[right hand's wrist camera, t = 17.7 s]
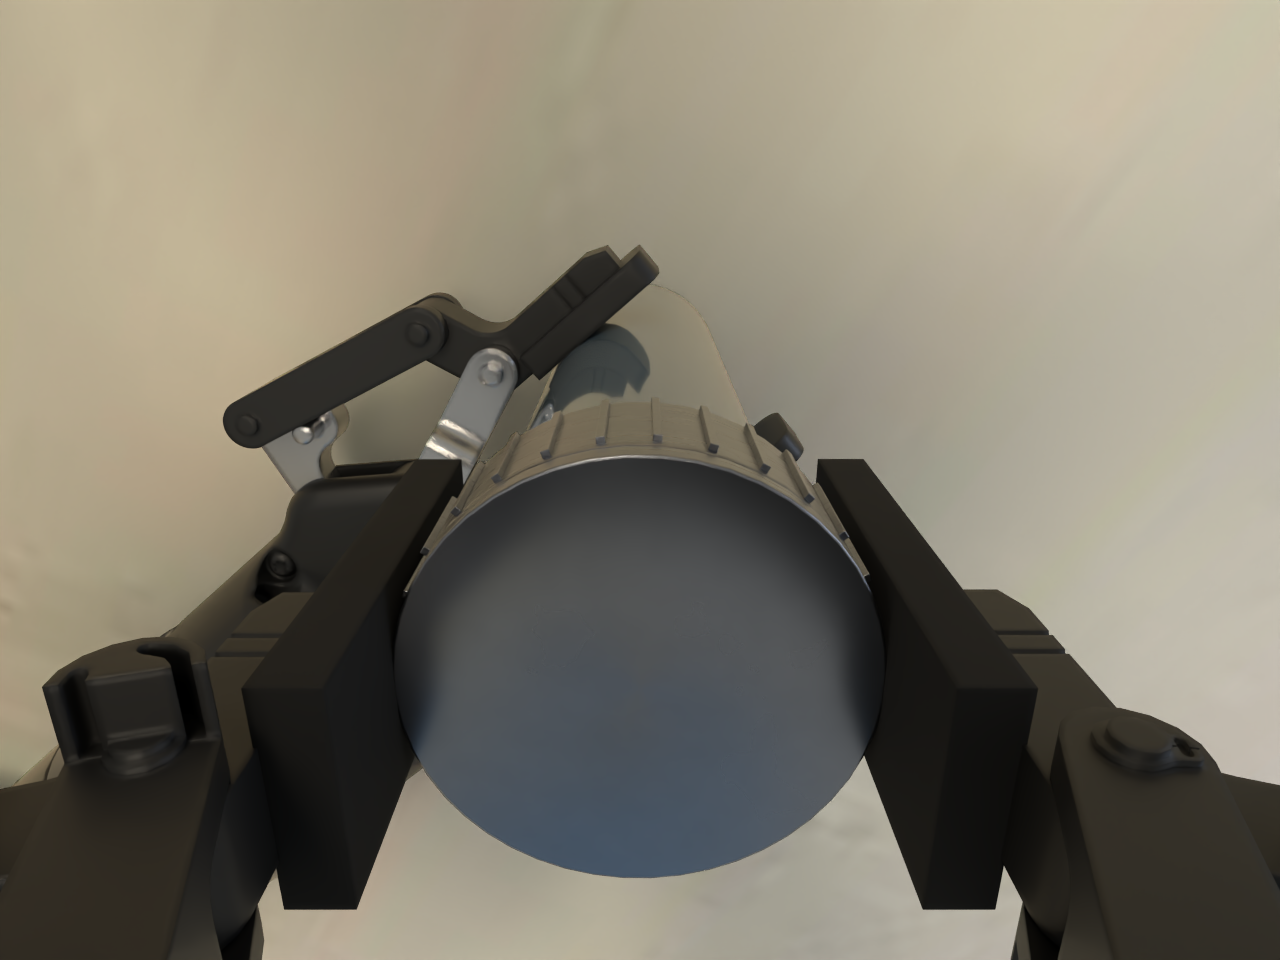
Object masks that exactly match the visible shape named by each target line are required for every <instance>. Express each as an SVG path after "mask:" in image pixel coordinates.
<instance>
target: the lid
mask: <svg viewBox="0 0 1280 960" xmlns="http://www.w3.org/2000/svg"><path fill="white" fill-rule="evenodd" d="M420 553H421V554H423V557H422V559H421V561H420V562H419V564H418V566H417V568H416V570H415V571H414V573H413V575H412V577H411V578H410V580H409V582H408V584H407V586H406V587H405V589H404V591H403V595H402V598H405V600H404V602H403V605H402V608H401V611H400V613H399V617H398V622H397V627H396V632H395V636H394V641H393V672H394V680H395V689H396V697H397V705H398V712H399V716H400V720H401V724H402V727H403V729H404V732H405V734H406V736H407V739H408V741H409V743H410V746H411V748H412V750H413V752H414V754H415V756H416V757H417V759H418V761H419V762H420V764H421V766H422V767H423V769H424V771H425V772H426V774H427V775H428V777H429V778H430V779H431V780H432V782H433V783H434V784H435V786H436V787H437V788H438V789H439V791H440V792H441V793H442V794H443V796H444V797H445V798H446V799H447V800H448V801H449V802H450V803H451V804H453V805H454V806H455V807H456V808H457V809H458V810H459V811H460V812H461V813H462V814H463V815H464V816H465V817H466V818H468V819H469V820H470V821H472V822H473V823H474V824H476V825H477V826H478V827H479V828H481V829H482V830H483V831H485V832H486V833H488V834H489V835H491V836H493V837H494V838H496V839H498V840H499V841H501V842H503V843H504V844H506V845H508V846H510V847H511V848H513V849H516V850H518V851H520V852H522V853H524V854H527V855H529V856H531V857H533V858H536V859H538V860H541V861H544V862H547V863H550V864H553V865H556V866H559V867H562V868H566V869H570V870H575V871H579V872H584V873H589V874H593V875H602V876H611V877H620V878H657V877H667V876H678V875H685V874H690V873H695V872H700V871H705V870H710V869H713V868H716V867H719V866H723V865H726V864H729V863H732V862H736V861H738V860H741V859H743V858H745V857H748V856H750V855H752V854H755V853H757V852H759V851H762V850H764V849H766V848H767V847H769V846H771V845H773V844H774V843H776V842H778V841H780V840H782V839H783V838H785V837H787V836H789V835H790V834H791V833H793V832H794V831H795V830H797V829H798V828H800V827H801V826H802V825H804V824H805V823H806V822H808V821H809V820H811V819H812V818H813V817H814V816H815V815H816V814H817V813H818V812H819V811H820V810H821V809H822V808H824V807H825V806H826V805H827V804H828V803H829V802H830V801H831V800H832V799H833V798H834V796H835V795H836V794H837V793H838V792H839V790H840V789H841V788H842V787H843V786H844V784H845V783H846V782H847V781H848V780H849V778H850V777H851V775H852V774H853V772H854V770H855V769H856V767H857V766H858V764H859V763H860V761H861V759H862V758H863V756H864V754H865V752H866V750H867V748H868V746H869V743H870V741H871V739H872V737H873V735H874V732H875V730H876V726H877V723H878V719H879V716H880V713H881V708H882V700H883V692H884V684H885V675H886V659H887V656H886V643H885V637H884V632H883V626H882V620H881V617H880V614H879V611H878V608H877V605H876V602H875V599H874V596H873V594H872V591H871V589H870V587H869V585H868V582H870V581H872V579H871V577H870V574H869V572H868V571H867V569H866V567H865V565H864V564H863V562H862V560H861V558H860V556H859V555H858V553H857V551H856V549H855V548H854V546H853V544H852V542H851V541H850V539H849V535H848V534H847V532H846V530H845V528H844V527H843V525H842V523H841V521H840V520H839V518H838V516H837V514H836V513H835V511H834V509H833V507H832V505H831V504H830V502H829V500H828V498H827V497H826V495H825V493H824V491H823V490H822V488H821V486H820V485H819V484H818V483H816V484H814V485H813V486H812V484H811V483H810V482H809V480H808V479H807V477H806V476H805V475H804V474H803V473H802V472H801V471H800V469H799V467H798V465H797V463H796V461H795V459H794V458H793V456H792V454H791V453H790V452H789V451H788V450H787V449H786V450H785V451H784V452H783V453H782V452H781V451H779V450H778V449H777V448H775V447H774V446H773V445H772V444H770V443H769V442H768V441H766V440H765V439H764V438H762V437H760V436H759V435H757V434H756V432H755V429H754V427H753V426H752V425H750V424H748V423H746V424H745V426H744V427H743V426H741V425H739V424H737V423H735V422H732V421H730V420H727V419H725V418H723V417H720V416H718V415H716V414H713V413H710V412H709V408H708V407H706V406H703V405H701V406H700V409H699V410H698V409H694V408H691V407H687V406H681V405H674V404H667V403H660V399H659V398H656V397H652V398H651V402H621V403H613V404H610V400H609V399H605V400H601V405H597V406H593V407H589V408H585V409H581V410H577V411H573V412H569V413H567V414H564V415H563V414H562V412H561V411H558V412H555V413H554V414H553V416H552V419H551V420H549V421H546V422H544V423H542V424H540V425H538V426H536V427H535V428H533V429H531V430H529V431H527V432H526V433H524V434H522V435H519V433H518V432H515V433H514V434H512V435H511V436H510V438H509V441H508V443H507V445H506V446H505V447H504V448H502V449H501V450H500V451H498V452H497V453H496V454H495V455H494V456H493V457H492V458H491V459H490V460H489V461H488V462H487V463H486V464H484V463H482V462H481V461H479V462H478V464H477V465H476V466H475V468H474V469H473V471H472V473H471V475H470V477H469V478H468V480H467V482H466V484H465V486H464V487H463V489H462V491H461V493H460V495H459V497H458V498H455V497H453V496H452V498H451V499H450V501H449V503H448V504H447V506H446V508H445V510H444V511H443V513H442V515H441V517H440V518H439V520H438V522H437V524H436V525H435V527H434V529H433V531H432V532H431V534H430V536H429V538H428V539H427V541H426V543H425V545H424V546H423V548H422V550H421V552H420Z"/></svg>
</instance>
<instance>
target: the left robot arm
mask: <svg viewBox="0 0 1280 960" xmlns="http://www.w3.org/2000/svg"><path fill="white" fill-rule="evenodd" d="M658 274H659V269H658V266H657V265H656V264H655V262H654V261H653V260H652V259H651V258H650V256H649V255H648V254H647V253H646V252H645V250H644V249H643V248H642V247H641V246H640V245H638V246H637V247H636V248H634V249H633V250H632V251H631V252H630V253H628V254H627V255H626V256H625V257H624V258H623V259H622V260H620V259H619V258H618V257H617V255H616V254H615V253H614V252H613V251H612V250H611V248H610V247H609V246H608V245H607V246H604V247H601V248H598V249H595V250H593V251H590V252H587V253H586V254H585V255H584V256H583V257H581V258H580V259H579V260H578V261H577V262H576V263H575V264H574V265H573V266H571V267H570V268H569V269H568V270H567V271H566V272H565V273H564V274H563V275H562V276H560V277H559V278H558V279H557V280H556V281H555V282H554V283H553V284H552V285H550V286H549V287H548V288H547V289H546V290H545V291H544V292H543V293H542V294H541V295H539V296H538V297H537V298H536V299H535V300H534V301H533V302H532V303H531V304H529V305H528V306H527V307H526V308H525V309H524V310H523V311H522V312H521V313H520V314H518V315H517V316H516V317H515V318H513V319H511V320H509V321H506V322H501V323H494V322H489V321H485V320H483V319H481V318H479V317H477V316H476V315H474V314H472V313H470V312H468V311H466V310H465V309H463V308H462V306H461V304H460V303H459V302H458V301H457V300H456V299H455V298H454V297H453V296H451V295H449V294H446V293H433V294H431V295H428V296H427V297H425V298H423V299H421V300H419V301H417V302H415V303H414V304H412V305H410V306H408V307H406V308H404V309H403V310H401V311H399V312H397V313H395V314H393V315H391V316H390V317H388V318H386V319H384V320H382V321H380V322H379V323H377V324H375V325H373V326H371V327H369V328H367V329H366V330H364V331H362V332H360V333H358V334H356V335H355V336H353V337H351V338H349V339H347V340H345V341H343V342H342V343H340V344H338V345H336V346H334V347H332V348H331V349H329V350H327V351H325V352H323V353H321V354H319V355H318V356H316V357H314V358H312V359H310V360H308V361H307V362H305V363H303V364H301V365H299V366H297V367H295V368H294V369H292V370H290V371H288V372H286V373H284V374H283V375H281V376H279V377H277V378H275V379H273V380H272V381H270V382H268V383H267V384H265V385H263V386H261V387H260V388H258V389H256V390H254V391H253V392H251V393H249V394H247V395H246V396H244V397H242V398H241V399H239V400H237V401H235V402H234V403H232V404H231V405H230V406H229V407H228V408H227V409H226V411H225V413H224V416H223V425H224V428H225V431H226V433H227V434H228V436H229V437H230V438H231V439H232V440H233V441H234V442H235V443H237V444H238V445H240V446H243V447H246V448H259V447H262V448H263V449H264V451H265V452H266V454H267V455H268V456H269V458H270V459H271V461H272V462H273V464H274V465H275V466H276V468H277V469H278V471H279V472H280V474H281V475H282V476H283V478H284V479H285V481H286V482H287V484H288V485H289V486H290V488H291V489H292V491H293V492H294V493H295V495H294V496H293V498H292V499H291V501H290V503H289V506H288V509H287V513H286V518H285V522H284V525H283V527H282V529H281V531H280V533H279V534H278V535H277V536H276V537H275V538H274V539H272V540H271V541H270V542H269V543H268V544H267V545H266V546H265V547H264V548H262V549H261V550H260V551H259V552H258V553H257V554H256V555H255V556H254V557H253V558H251V559H250V560H249V561H248V562H247V563H246V564H245V565H244V566H243V567H241V568H240V569H239V570H238V571H237V572H236V573H235V574H234V575H233V576H231V577H230V578H229V579H228V580H227V581H226V582H225V583H224V584H223V585H221V586H220V587H219V588H218V589H217V590H216V591H215V592H214V593H213V594H211V595H210V596H209V597H208V598H207V599H206V600H205V601H204V602H203V603H202V604H200V605H199V606H198V607H197V608H196V609H195V610H194V611H193V612H192V613H190V614H189V615H188V616H187V617H186V618H185V619H184V620H183V621H182V622H181V623H180V624H179V625H177V626H176V627H174V628H173V629H171V630H169V631H168V632H166V633H165V634H163V635H162V636H160V637H175V638H181V639H186V640H192V641H193V642H195V643H196V644H197V645H199V646H200V647H202V648H203V649H204V650H205V655H206V660H207V661H208V660H209V659H210V658H211V657H215V652H216V651H217V649H218V648H219V647H220V646H221V645H222V644H223V643H224V641H225V640H226V639H227V638H231V633H232V632H233V631H234V630H235V629H236V628H237V627H238V625H239V624H240V623H241V622H242V621H243V620H244V619H245V617H246V616H247V615H248V614H249V613H250V612H251V611H252V610H254V609H256V608H257V607H259V606H261V605H262V604H264V603H266V602H267V601H269V600H271V599H273V598H274V597H276V596H278V595H279V594H281V593H283V592H315V591H316V590H317V588H318V587H319V586H320V584H321V583H322V582H323V580H324V579H325V578H326V576H327V575H328V574H329V573H330V571H331V570H332V569H333V567H334V566H335V565H336V563H337V562H338V561H339V559H340V558H341V557H342V555H343V554H344V553H345V552H346V550H347V549H348V548H349V546H350V545H351V544H352V542H353V541H354V540H355V538H356V537H357V536H358V535H359V533H360V532H361V531H362V529H363V528H364V527H365V525H366V524H367V523H368V521H369V520H370V519H371V518H372V516H373V515H374V514H375V512H376V511H377V510H378V508H379V507H380V506H381V504H382V503H383V502H384V501H385V499H386V498H387V497H388V495H389V494H390V493H391V491H392V490H393V489H394V487H395V486H396V485H397V483H398V482H399V481H400V480H401V478H402V477H403V476H404V474H405V473H406V472H407V470H408V469H409V468H410V466H411V465H412V464H413V463H414V461H415V460H416V459H409V460H396V461H383V462H371V463H358V464H345V465H336V466H335V464H334V462H333V460H332V456H331V448H332V445H333V443H334V441H335V440H336V439H337V438H338V437H340V436H341V435H342V434H343V433H344V432H345V431H346V429H347V427H348V425H349V413H348V410H347V408H346V406H345V405H344V403H346V402H348V401H350V400H351V399H353V398H355V397H357V396H359V395H361V394H363V393H365V392H367V391H368V390H370V389H372V388H374V387H376V386H378V385H380V384H382V383H384V382H386V381H387V380H389V379H391V378H393V377H395V376H397V375H399V374H401V373H403V372H404V371H406V370H408V369H410V368H412V367H414V366H416V365H418V364H420V363H422V362H423V361H425V360H426V361H428V362H430V363H432V364H434V365H436V366H438V367H440V368H442V369H444V370H445V371H447V372H449V373H451V374H453V375H455V376H457V377H459V378H460V380H459V382H458V384H457V386H456V388H455V390H454V392H453V394H452V396H451V398H450V400H449V402H448V404H447V406H446V408H445V410H444V412H443V414H442V416H441V418H440V420H439V422H438V424H437V426H436V427H435V429H434V431H433V432H432V434H431V436H430V438H429V440H428V441H427V443H426V445H425V447H424V449H423V451H422V453H421V455H420V457H419V459H462V472H463V484H464V486H465V484H466V482H467V480H468V478H469V477H470V475H471V473H472V471H473V469H474V468H475V465H476V463H477V461H478V459H479V457H480V455H481V454H482V452H483V450H484V448H485V446H486V444H487V442H488V440H489V438H490V436H491V434H492V432H493V430H494V428H495V427H496V425H497V423H498V421H499V419H500V417H501V415H502V413H503V411H504V409H505V407H506V405H507V403H508V401H509V399H510V397H511V395H512V393H513V391H514V390H515V389H516V388H517V387H518V386H519V385H520V384H522V383H523V382H524V381H525V380H526V379H527V378H528V377H529V376H531V375H532V374H534V375H535V376H536V377H537V378H538V379H539V380H540V379H541V378H543V377H544V376H545V375H546V374H547V373H548V372H549V371H551V370H552V369H553V368H554V367H555V366H556V365H557V364H559V363H560V362H561V361H562V360H563V359H564V358H565V357H566V356H567V355H568V354H569V353H571V352H572V351H573V350H574V349H575V348H577V347H578V346H579V345H580V344H582V343H583V342H584V341H585V340H586V339H587V338H588V337H590V336H591V335H592V334H593V333H594V332H595V331H596V330H598V329H599V328H600V327H601V326H602V325H603V324H604V323H606V322H607V321H608V320H609V319H610V318H611V317H612V316H614V315H615V314H616V313H617V312H618V311H619V310H620V309H622V308H623V307H624V306H625V305H626V304H627V303H628V302H630V301H631V300H632V299H633V298H634V297H635V296H636V295H638V294H639V293H640V292H641V291H642V290H643V289H644V288H646V287H647V286H648V285H649V284H650V283H651V282H652V281H653V280H654V279H655V278H656V277H657V275H658ZM754 429H755V432H756V434H757V435H759V436H760V437H762V438H764V439H765V440H766V441H768V442H769V443H770V444H772V445H773V446H774V447H775V448H777V449H778V450H779V451H781V452H782V453H783V452H784V451H785V450H786V449H787V450H788V451H789V452H790V453H791V454H792V456H793V458H794V459H795V461H797V460H798V459H799V458H800V456H801V455H802V453H803V450H804V448H803V446H802V444H801V443H800V441H799V439H798V437H797V436H796V434H795V433H794V431H793V430H792V429H791V428H790V426H789V425H788V424H787V423H786V422H785V420H784V419H783V418H782V417H781V416H780V414H779V413H773V414H771V415H769V416H767V417H765V418H764V419H763V420H761V421H760V422H759V423H757V424H756V425H755V426H754ZM482 463H483V462H482ZM63 765H64V760H63V757H62V754H61V750H60V747H59V744H58V745H57V746H56V747H55V748H54V749H52V750H51V751H50V752H49V753H48V754H47V755H46V756H45V757H44V758H42V759H41V760H40V761H39V762H38V763H37V764H36V765H35V766H33V767H32V768H31V769H30V770H29V771H28V772H27V773H26V774H25V775H24V776H23V777H21V778H20V779H19V780H18V781H17V782H16V783H15V784H14V785H12V786H11V787H13V786H18V785H23V784H28V783H33V782H38V781H43V780H48V779H51V778H55V777H58V775H59V773H60V771H61V769H62V767H63ZM422 768H423V767H422V766H421V764H420V762H419V761H418V759H417V757H416V756H415V757H414V760H413V763H412V765H411V768H410V770H409V773H408V776H407V778H406V780H408V779H409V778H410V777H411V776H413V775H414V774H415V773H417V772H418V771H419V770H421V769H422ZM277 877H278V875H277V870H275V872H274V873H273V875H272V877H271V879H270V881H272V880H274V879H275V878H277ZM270 881H269V882H270Z"/></svg>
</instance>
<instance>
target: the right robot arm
mask: <svg viewBox="0 0 1280 960" xmlns="http://www.w3.org/2000/svg"><path fill="white" fill-rule="evenodd" d="M816 483H818V484H819V485H820V486H821V488H822V490H823V491H824V493H825V495H826V497H827V498H828V500H829V502H830V504H831V505H832V507H833V509H834V511H835V513H836V514H837V516H838V518H839V520H840V521H841V523H842V525H843V527H844V528H845V530H846V532H847V534H848V535H849V539H850V541H851V542H852V544H853V546H854V548H855V549H856V551H857V553H858V555H859V556H860V558H861V560H862V562H863V564H864V565H865V567H866V569H867V571H868V572H869V574H870V577H871V579H872V581H870V582H868V585H869V587H870V589H871V591H872V594H873V596H874V599H875V602H876V605H877V608H878V611H879V614H880V617H881V620H882V626H883V632H884V637H885V643H886V656H887V659H886V675H885V684H884V692H883V700H882V708H881V713H880V716H879V719H878V723H877V726H876V730H875V732H874V735H873V737H872V739H871V741H870V743H869V746H868V748H867V750H866V752H865V754H864V756H865V759H866V761H867V764H868V767H869V769H870V772H871V774H872V777H873V780H874V782H875V785H876V788H877V790H878V793H879V795H880V798H881V801H882V803H883V806H884V809H885V811H886V814H887V816H888V819H889V822H890V824H891V827H892V830H893V832H894V835H895V837H896V840H897V843H898V845H899V848H900V851H901V853H902V856H903V858H904V861H905V864H906V866H907V869H908V872H909V874H910V877H911V880H912V882H913V885H914V887H915V890H916V893H917V895H918V898H919V901H920V903H921V906H922V908H923V910H995V908H996V903H997V898H998V893H999V888H1000V882H1001V877H1002V872H1003V867H1004V866H1005V868H1006V870H1007V872H1008V874H1009V876H1010V878H1011V880H1012V882H1013V884H1014V886H1015V888H1016V889H1017V891H1018V893H1019V895H1020V897H1021V899H1022V901H1023V903H1022V908H1021V913H1020V918H1019V922H1018V927H1017V932H1016V937H1015V942H1014V946H1013V951H1012V956H1011V960H1280V785H1276V784H1271V783H1266V782H1261V781H1256V780H1251V779H1246V778H1241V777H1236V776H1232V775H1228V774H1224V773H1221V772H1220V770H1219V768H1218V766H1217V764H1216V762H1215V761H1214V759H1213V758H1212V757H1211V756H1210V754H1209V753H1208V752H1207V751H1206V749H1205V748H1204V747H1203V746H1202V745H1201V744H1200V743H1199V742H1197V741H1196V740H1194V739H1193V738H1191V737H1190V736H1189V735H1187V734H1186V733H1184V732H1183V731H1181V730H1180V729H1179V728H1177V727H1174V726H1172V725H1170V724H1168V723H1165V722H1163V721H1161V720H1159V719H1156V718H1154V717H1152V716H1150V715H1146V714H1142V713H1138V712H1134V711H1130V710H1126V709H1122V708H1116V707H1115V705H1114V704H1113V703H1112V702H1111V701H1110V700H1109V699H1108V698H1107V696H1106V695H1105V694H1104V693H1103V692H1102V691H1101V690H1100V688H1099V687H1098V686H1097V685H1096V684H1095V683H1094V682H1093V680H1092V679H1091V678H1090V677H1089V676H1088V675H1087V674H1086V673H1085V671H1084V670H1083V669H1082V668H1081V667H1080V666H1079V665H1078V663H1077V662H1076V661H1075V660H1074V659H1073V658H1072V657H1071V655H1070V654H1065V649H1064V648H1063V646H1062V645H1061V644H1060V643H1059V642H1058V641H1057V640H1056V638H1055V637H1054V636H1053V635H1049V631H1048V629H1047V628H1046V627H1045V626H1044V625H1043V624H1042V623H1041V621H1040V620H1039V619H1038V618H1037V617H1036V616H1035V615H1034V613H1033V612H1032V611H1031V610H1030V609H1029V608H1027V607H1026V606H1024V605H1022V604H1021V603H1019V602H1017V601H1016V600H1014V599H1012V598H1010V597H1009V596H1007V595H1005V594H1004V593H1002V592H1000V591H999V590H963V589H962V588H961V586H960V585H959V584H958V582H957V581H956V580H955V578H954V577H953V576H952V575H951V573H950V572H949V571H948V569H947V568H946V567H945V565H944V564H943V563H942V561H941V560H940V559H939V558H938V556H937V555H936V554H935V552H934V551H933V550H932V548H931V547H930V546H929V544H928V543H927V542H926V541H925V539H924V538H923V537H922V535H921V534H920V533H919V531H918V530H917V529H916V527H915V526H914V525H913V523H912V522H911V521H910V520H909V518H908V517H907V516H906V514H905V513H904V512H903V510H902V509H901V508H900V506H899V505H898V504H897V503H896V501H895V500H894V499H893V497H892V496H891V495H890V493H889V492H888V491H887V489H886V488H885V487H884V486H883V484H882V483H881V482H880V480H879V479H878V478H877V476H876V475H875V474H874V472H873V471H872V470H871V468H870V467H869V466H868V465H867V463H866V462H865V461H864V459H818V465H817V477H816ZM463 487H464V484H463V472H462V459H416V460H415V461H414V463H413V464H412V465H411V466H410V468H409V469H408V470H407V472H406V473H405V474H404V476H403V477H402V478H401V480H400V481H399V482H398V483H397V485H396V486H395V487H394V489H393V490H392V491H391V493H390V494H389V495H388V497H387V498H386V499H385V501H384V502H383V503H382V504H381V506H380V507H379V508H378V510H377V511H376V512H375V514H374V515H373V516H372V518H371V519H370V520H369V521H368V523H367V524H366V525H365V527H364V528H363V529H362V531H361V532H360V533H359V535H358V536H357V537H356V538H355V540H354V541H353V542H352V544H351V545H350V546H349V548H348V549H347V550H346V552H345V553H344V554H343V555H342V557H341V558H340V559H339V561H338V562H337V563H336V565H335V566H334V567H333V569H332V570H331V571H330V573H329V574H328V575H327V576H326V578H325V579H324V580H323V582H322V583H321V584H320V586H319V587H318V588H317V590H316V591H315V592H283V593H281V594H279V595H278V596H276V597H274V598H273V599H271V600H269V601H267V602H266V603H264V604H262V605H261V606H259V607H257V608H256V609H254V610H252V611H251V612H250V613H249V614H248V615H247V616H246V617H245V619H244V620H243V621H242V622H241V623H240V624H239V625H238V627H237V628H236V629H235V630H234V631H233V632H232V633H231V638H227V639H226V640H225V641H224V643H223V644H222V645H221V646H220V647H219V648H218V649H217V651H216V652H215V657H211V658H210V659H209V660H208V661H207V660H206V655H205V650H204V649H203V648H202V647H200V646H199V645H197V644H196V643H195V642H193V641H192V640H186V639H181V638H175V637H153V638H141V639H136V640H132V641H127V642H123V643H118V644H113V645H110V646H108V647H105V648H102V649H100V650H97V651H95V652H92V653H89V654H87V655H84V656H82V657H80V658H79V659H77V660H75V661H73V662H72V663H70V664H68V665H67V666H65V667H63V668H62V669H60V670H58V671H57V672H56V673H55V674H54V675H53V676H52V677H51V678H50V679H49V680H48V681H47V682H46V684H45V685H44V686H43V687H42V689H43V692H44V696H45V699H46V702H47V706H48V709H49V713H50V716H51V719H52V723H53V726H54V730H55V733H56V737H57V740H58V743H59V747H60V750H61V754H62V757H63V760H64V765H63V767H62V769H61V771H60V773H59V775H58V777H55V778H51V779H48V780H43V781H38V782H33V783H28V784H23V785H18V786H13V787H8V788H4V789H0V960H262V953H263V945H264V936H263V929H262V922H261V918H260V913H259V908H258V902H259V901H260V899H261V897H262V895H263V893H264V891H265V889H266V887H267V885H268V883H269V881H270V879H271V877H272V875H273V873H274V872H275V870H277V875H278V880H279V885H280V890H281V896H282V901H283V906H284V910H357V907H358V904H359V902H360V899H361V896H362V894H363V891H364V889H365V886H366V883H367V881H368V878H369V875H370V873H371V870H372V868H373V865H374V862H375V860H376V857H377V854H378V852H379V849H380V847H381V844H382V841H383V839H384V836H385V833H386V831H387V828H388V826H389V823H390V820H391V818H392V815H393V812H394V810H395V807H396V805H397V802H398V799H399V797H400V794H401V791H402V789H403V786H404V784H405V781H406V778H407V776H408V773H409V770H410V768H411V765H412V763H413V760H414V757H415V754H414V752H413V750H412V748H411V746H410V743H409V741H408V739H407V736H406V734H405V732H404V729H403V727H402V724H401V720H400V716H399V712H398V705H397V697H396V689H395V680H394V672H393V641H394V636H395V632H396V627H397V622H398V617H399V613H400V611H401V608H402V605H403V602H404V600H405V598H402V595H403V591H404V589H405V587H406V586H407V584H408V582H409V580H410V578H411V577H412V575H413V573H414V571H415V570H416V568H417V566H418V564H419V562H420V561H421V559H422V557H423V554H421V553H420V552H421V550H422V548H423V546H424V545H425V543H426V541H427V539H428V538H429V536H430V534H431V532H432V531H433V529H434V527H435V525H436V524H437V522H438V520H439V518H440V517H441V515H442V513H443V511H444V510H445V508H446V506H447V504H448V503H449V501H450V499H451V498H452V496H453V497H455V498H458V497H459V495H460V493H461V491H462V489H463Z"/></svg>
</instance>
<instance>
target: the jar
mask: <svg viewBox="0 0 1280 960" xmlns="http://www.w3.org/2000/svg"><path fill="white" fill-rule="evenodd" d="M652 397H656V398H659V399H660V403H667V404H674V405H681V406H687V407H691V408H694V409H698V410H699V409H700V406H701V405H703V406H706V407H708V408H709V412H710V413H713V414H716V415H718V416H720V417H723V418H725V419H727V420H730V421H732V422H735V423H737V424H739V425H741V426H743V427H744V426H745V424H746V423H748V424H749V422H748V420H747V418H746V415H745V413H744V411H743V408H742V406H741V404H740V401H739V399H738V397H737V394H736V392H735V390H734V387H733V385H732V383H731V380H730V378H729V376H728V373H727V371H726V369H725V366H724V364H723V362H722V359H721V357H720V355H719V352H718V350H717V348H716V345H715V343H714V341H713V338H712V336H711V334H710V331H709V329H708V326H707V324H706V323H705V321H704V319H703V318H702V316H701V315H700V314H699V312H698V311H697V310H696V309H695V308H694V307H693V306H692V305H691V304H690V303H689V302H688V301H687V300H685V299H684V298H683V297H681V296H680V295H678V294H676V293H674V292H673V291H670V290H668V289H665V288H663V287H659V286H655V285H648V286H647V287H646V288H644V289H643V290H642V291H641V292H640V293H639V294H638V295H636V296H635V297H634V298H633V299H632V300H631V301H630V302H628V303H627V304H626V305H625V306H624V307H623V308H622V309H620V310H619V311H618V312H617V313H616V314H615V315H614V316H612V317H611V318H610V319H609V320H608V321H607V322H606V323H604V324H603V325H602V326H601V327H600V328H599V329H598V330H596V331H595V332H594V333H593V334H592V335H591V336H590V337H588V338H587V339H586V340H585V341H584V342H583V343H582V344H580V345H579V346H578V347H577V348H575V349H574V350H573V351H572V352H571V353H569V354H568V355H567V356H566V357H565V358H564V359H563V360H562V361H561V362H560V363H559V364H557V365H556V366H555V367H554V368H553V369H552V372H551V374H550V376H549V379H548V381H547V383H546V386H545V388H544V390H543V393H542V395H541V397H540V400H539V402H538V404H537V407H536V409H535V411H534V413H533V416H532V418H531V420H530V423H529V425H528V427H527V430H526V432H527V431H529V430H531V429H533V428H535V427H536V426H538V425H540V424H542V423H544V422H546V421H549V420H551V419H552V416H553V414H554V413H555V412H558V411H561V412H562V414H563V415H564V414H567V413H569V412H573V411H577V410H581V409H585V408H589V407H593V406H597V405H601V400H605V399H609V400H610V404H613V403H621V402H651V398H652ZM526 432H525V433H526Z"/></svg>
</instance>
